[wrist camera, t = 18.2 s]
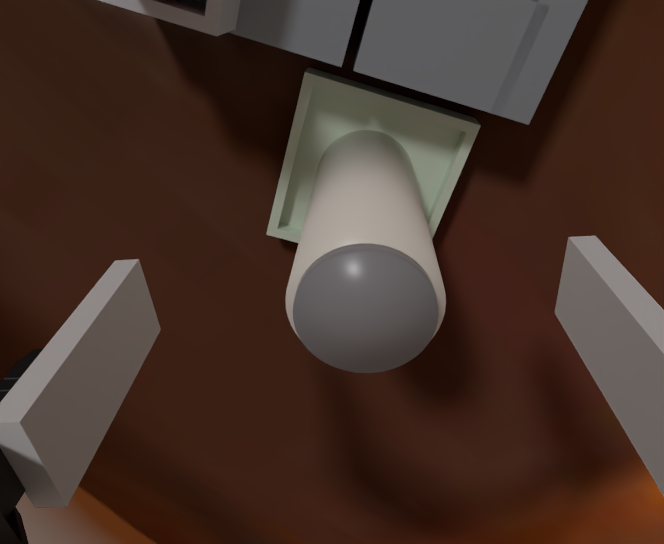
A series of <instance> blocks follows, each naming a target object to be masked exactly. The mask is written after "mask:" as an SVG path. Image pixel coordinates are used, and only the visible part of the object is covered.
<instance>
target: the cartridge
mask: <svg viewBox="0 0 664 544" xmlns="http://www.w3.org/2000/svg"><path fill="white" fill-rule="evenodd" d="M445 307H446V294H445V289H444V285H443V281H442V277H441V273H440V269H439V266H438V262H437V258H436V254H435V250H434V246H433V243H432V239H431V235H430V231H429V227H428V223H427V220H426V216H425V212H424V208H423V204H422V201H421V197H420V193H419V189H418V185H417V181H416V178H415V174H414V170H413V166H412V163H411V160H410V157H409V155H408V153H407V152H406V150H405V149H404V147H403V146H402V145H401V144H400V143H399V142H398V141H396V140H395V139H394V138H392V137H391V136H389V135H387V134H385V133H382V132H379V131H374V130H358V131H353V132H350V133H347V134H345V135H343V136H341V137H339V138H338V139H336V140H335V141H334V142H333V143H332V144H331V145H330V146H329V147H328V148H327V149H326V150H325V152H324V154H323V155H322V157H321V160H320V162H319V166H318V169H317V173H316V177H315V181H314V185H313V189H312V193H311V197H310V201H309V205H308V208H307V212H306V216H305V220H304V224H303V228H302V232H301V236H300V240H299V244H298V248H297V251H296V255H295V259H294V263H293V267H292V271H291V275H290V279H289V283H288V287H287V291H286V310H287V315H288V318H289V321H290V324H291V326H292V328H293V329H294V331H295V333H296V334H297V336H298V337H299V338H300V340H301V341H302V343H303V344H304V345H305V347H306V348H307V349H308V350H309V351H310V352H311V353H312V354H313V355H315V356H316V357H317V358H318V359H320V360H322V361H323V362H325V363H327V364H329V365H331V366H333V367H336V368H339V369H341V370H346V371H350V372H357V373H375V372H382V371H387V370H390V369H394V368H396V367H399V366H401V365H403V364H405V363H407V362H409V361H410V360H412V359H413V358H415V357H416V356H417V355H418V354H420V353H421V352H422V351H423V350H424V348H425V347H426V346H427V345H428V344H429V342H430V341H431V339H432V338H433V337H434V336H435V334H436V332H437V331H438V329H439V327H440V325H441V323H442V321H443V317H444V314H445Z"/></svg>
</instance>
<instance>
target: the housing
mask: <svg viewBox="0 0 664 544" xmlns="http://www.w3.org/2000/svg"><path fill="white" fill-rule="evenodd" d="M99 1H103V2H106V3H109V4H112V5H116V6H119V7H122V8H125V9H129V10H132V11H135V12H138V13H142V14H145V15H148V16H152V17H155V18H158V19H161V20H165V21H168V22H171V23H174V24H178V25H181V26H184V27H187V28H191V29H194V30H197V31H201V32H204V33H207V34H210V35H214V36H219V35H222V34H225V33H227V32H228V33H232V34H235V35H238V36H241V37H245V38H248V39H251V40H254V41H258V42H261V43H264V44H267V45H271V46H274V47H277V48H280V49H284V50H287V51H290V52H293V53H297V54H300V55H303V56H306V57H310V58H313V59H316V60H319V61H323V62H326V63H329V64H332V65H336V66H339V67H342V64H343V60H344V56H345V53H346V49H347V45H348V42H349V38H350V34H351V31H352V27H353V23H354V20H355V16H356V12H357V8H358V5H359V1H360V0H99ZM587 1H588V0H371V1H370V5H369V9H368V12H367V16H366V19H365V23H364V26H363V30H362V34H361V37H360V41H359V44H358V48H357V51H356V55H355V59H354V69H353V71H355V72H358V73H362V74H365V75H368V76H371V77H375V78H378V79H381V80H384V81H388V82H391V83H394V84H397V85H401V86H404V87H407V88H410V89H414V90H417V91H420V92H423V93H427V94H430V95H433V96H436V97H440V98H443V99H446V100H449V101H453V102H456V103H459V104H462V105H466V106H469V107H472V108H475V109H479V110H482V111H485V112H488V113H492V114H495V115H498V116H501V117H505V118H508V119H511V120H514V121H518V122H521V123H524V124H527V125H529V123H530V121H531V119H532V117H533V115H534V113H535V111H536V109H537V106H538V104H539V102H540V100H541V98H542V96H543V94H544V92H545V90H546V88H547V85H548V83H549V81H550V79H551V77H552V75H553V73H554V71H555V69H556V67H557V64H558V62H559V60H560V58H561V56H562V54H563V52H564V50H565V48H566V46H567V43H568V41H569V39H570V37H571V35H572V33H573V31H574V29H575V27H576V25H577V22H578V20H579V18H580V16H581V14H582V12H583V10H584V8H585V6H586V4H587Z"/></svg>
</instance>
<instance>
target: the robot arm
mask: <svg viewBox="0 0 664 544" xmlns="http://www.w3.org/2000/svg"><path fill="white" fill-rule="evenodd" d="M555 314H556V316H557V318H558V319H559V321H560V323H561V325H562V326H563V328H564V330H565V331H566V333H567V335H568V336H569V338H570V340H571V341H572V343H573V345H574V346H575V348H576V350H577V351H578V353H579V355H580V356H581V358H582V360H583V362H584V363H585V365H586V367H587V368H588V370H589V372H590V373H591V375H592V377H593V378H594V380H595V382H596V383H597V385H598V387H599V388H600V390H601V392H602V393H603V395H604V397H605V399H606V400H607V402H608V404H609V405H610V407H611V409H612V410H613V412H614V414H615V415H616V417H617V419H618V420H619V422H620V424H621V425H622V427H623V429H624V430H625V432H626V434H627V436H628V437H629V439H630V441H631V442H632V444H633V446H634V447H635V449H636V451H637V452H638V454H639V456H640V457H641V459H642V461H643V462H644V464H645V466H646V467H647V469H648V471H649V473H650V474H651V476H652V478H653V479H654V481H655V483H656V484H657V486H658V488H659V489H660V491H661V493H662V494H663V496H664V310H663V309H662V308H661V307H660V306H659V305H658V304H657V302H656V301H655V300H654V299H653V298H652V297H651V296H650V295H649V294H648V293H647V292H646V290H645V289H644V288H643V287H642V286H641V285H640V284H639V283H638V282H637V281H636V280H635V279H634V277H633V276H632V275H631V274H630V273H629V272H628V271H627V270H626V269H625V268H624V267H623V265H622V264H621V263H620V262H619V261H618V260H617V259H616V258H615V257H614V256H613V255H612V254H611V252H610V251H609V250H608V249H607V248H606V247H605V246H604V245H603V244H602V243H601V242H600V240H599V239H598V238H597V237H596V236H580V237H568V243H567V248H566V254H565V259H564V264H563V270H562V275H561V281H560V286H559V292H558V297H557V302H556V308H555ZM160 330H161V329H160V326H159V322H158V319H157V316H156V313H155V310H154V306H153V303H152V300H151V297H150V294H149V290H148V287H147V284H146V281H145V278H144V274H143V271H142V268H141V265H140V262H139V259H137V260H117V261H114V263H113V264H112V265H111V266H110V268H109V269H108V270H107V271H106V273H105V274H104V275H103V276H102V277H101V279H100V280H99V281H98V282H97V284H96V285H95V286H94V287H93V289H92V290H91V291H90V292H89V294H88V295H87V296H86V297H85V298H84V300H83V301H82V302H81V303H80V305H79V306H78V307H77V308H76V310H75V311H74V312H73V313H72V314H71V316H70V317H69V318H68V319H67V321H66V322H65V323H64V324H63V326H62V327H61V328H60V329H59V331H58V332H57V333H56V334H55V335H54V337H53V338H52V339H51V340H50V342H49V343H48V344H47V345H46V347H45V348H44V349H35V350H33V351H32V352H30V353H29V354H28V355H26V356H25V357H23V358H22V359H21V360H19V361H18V362H17V363H16V364H15V365H14V366H13V367H12V368H11V370H10V371H9V372H8V373H7V374H6V375H5V377H4V380H1V381H0V544H28V540H27V536H26V533H25V529H24V526H23V522H22V518H21V515H20V513H19V512H18V510H17V509H16V507H15V506H16V505H17V503H18V501H19V500H20V498H21V497H22V495H23V493H24V492H26V494H27V496H28V497H29V499H30V501H31V502H32V504H33V505H34V507H35V508H40V507H67V505H68V504H69V502H70V500H71V498H72V496H73V494H74V493H75V491H76V489H77V487H78V485H79V483H80V481H81V479H82V477H83V476H84V474H85V472H86V470H87V468H88V466H89V464H90V462H91V460H92V459H93V457H94V455H95V453H96V451H97V449H98V447H99V445H100V443H101V441H102V440H103V438H104V436H105V434H106V432H107V430H108V428H109V426H110V424H111V423H112V421H113V419H114V417H115V415H116V413H117V411H118V409H119V407H120V406H121V404H122V402H123V400H124V398H125V396H126V394H127V392H128V390H129V389H130V387H131V385H132V383H133V381H134V379H135V377H136V375H137V373H138V372H139V370H140V368H141V366H142V364H143V362H144V360H145V358H146V356H147V355H148V353H149V351H150V349H151V347H152V345H153V343H154V341H155V339H156V337H157V336H158V334H159V332H160Z"/></svg>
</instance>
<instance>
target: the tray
mask: <svg viewBox="0 0 664 544" xmlns="http://www.w3.org/2000/svg"><path fill="white" fill-rule="evenodd" d="M480 127H481V125H480V124H479V123H478V121H477V120H476V119H475V118H474V117H471V116H468V115H464V114H461V113H458V112H454V111H451V110H448V109H445V108H441V107H438V106H435V105H432V104H428V103H425V102H422V101H418V100H415V99H412V98H409V97H405V96H402V95H399V94H396V93H392V92H389V91H386V90H383V89H379V88H376V87H373V86H369V85H366V84H363V83H360V82H356V81H353V80H350V79H347V78H343V77H340V76H337V75H333V74H330V73H327V72H324V71H320V70H317V69H314V68H311V67H308V68H307V69H306V71H305V73H304V77H303V82H302V86H301V90H300V94H299V99H298V103H297V107H296V111H295V115H294V120H293V124H292V128H291V132H290V137H289V141H288V145H287V149H286V154H285V158H284V162H283V166H282V170H281V175H280V179H279V183H278V187H277V192H276V196H275V200H274V204H273V209H272V213H271V217H270V221H269V225H268V230H267V234H266V235H270V236H274V237H277V238H281V239H285V240H288V241H292V242H296V243H299V240H300V236H301V232H302V228H303V224H304V220H305V216H306V212H307V208H308V205H309V201H310V197H311V193H312V189H313V185H314V181H315V177H316V173H317V169H318V166H319V162H320V160H321V157H322V155H323V154H324V152H325V150H326V149H327V148H328V147H329V146H330V145H331V144H332V143H333V142H334V141H335V140H336V139H338V138H339V137H341V136H343V135H345V134H347V133H350V132H353V131H358V130H374V131H379V132H382V133H385V134H387V135H389V136H391V137H392V138H394V139H395V140H396V141H398V142H399V143H400V144H401V145H402V146H403V147H404V149H405V150H406V152H407V153H408V155H409V157H410V160H411V163H412V166H413V170H414V174H415V178H416V181H417V185H418V189H419V193H420V197H421V201H422V204H423V208H424V212H425V216H426V220H427V223H428V227H429V231H430V235H431V239H433V236H434V234H435V232H436V229H437V227H438V225H439V222H440V220H441V218H442V215H443V213H444V211H445V208H446V206H447V204H448V201H449V199H450V197H451V194H452V192H453V190H454V187H455V185H456V183H457V180H458V178H459V176H460V173H461V171H462V169H463V166H464V164H465V162H466V159H467V157H468V155H469V152H470V150H471V148H472V145H473V143H474V141H475V138H476V136H477V134H478V131H479V129H480Z"/></svg>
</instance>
